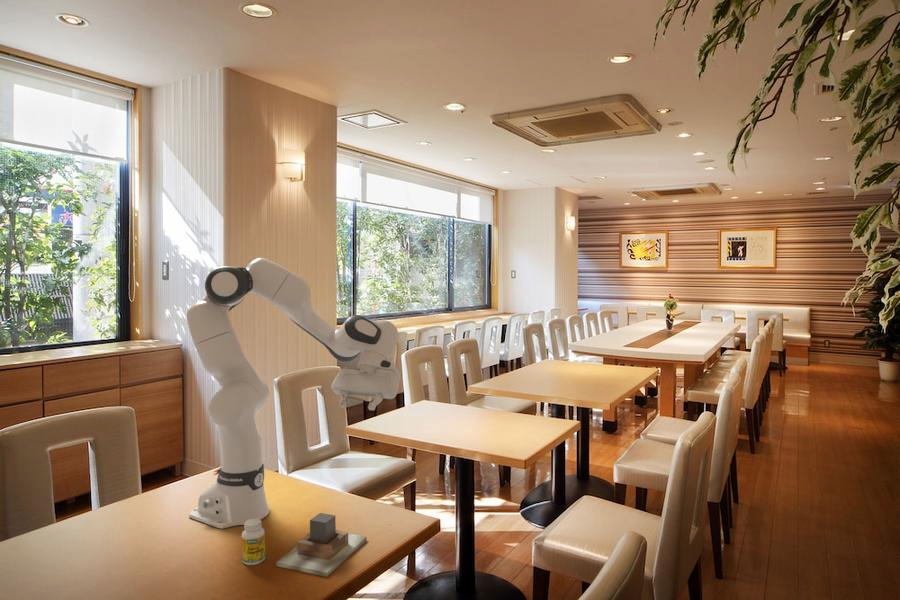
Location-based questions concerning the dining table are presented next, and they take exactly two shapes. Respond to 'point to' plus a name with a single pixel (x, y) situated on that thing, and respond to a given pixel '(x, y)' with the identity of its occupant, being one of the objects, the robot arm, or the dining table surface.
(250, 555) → the supplement bottle
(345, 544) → the socket holder
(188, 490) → the dining table surface
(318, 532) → the plug block
